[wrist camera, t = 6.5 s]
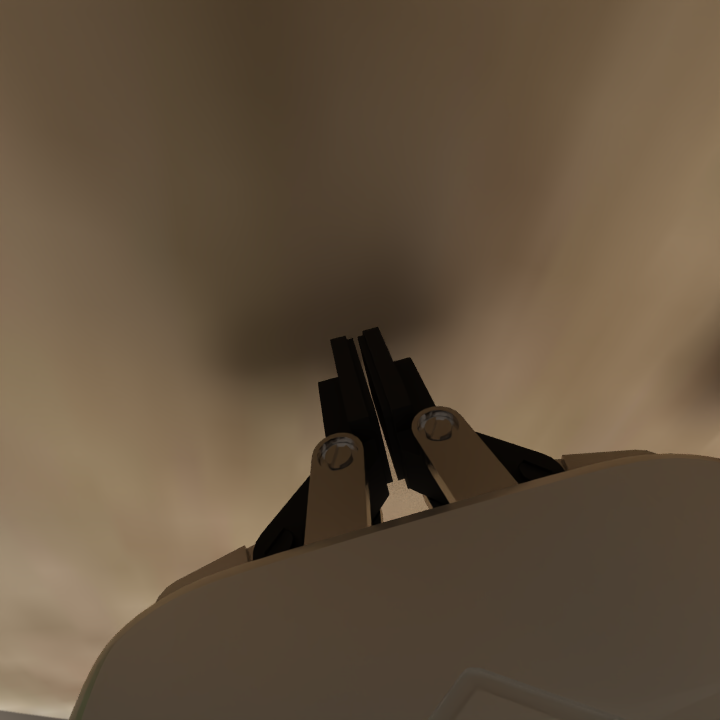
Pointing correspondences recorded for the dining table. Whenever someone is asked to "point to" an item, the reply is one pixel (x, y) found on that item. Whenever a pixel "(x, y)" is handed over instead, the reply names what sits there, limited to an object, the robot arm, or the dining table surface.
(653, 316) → the dining table surface
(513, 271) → the dining table surface
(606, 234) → the dining table surface
